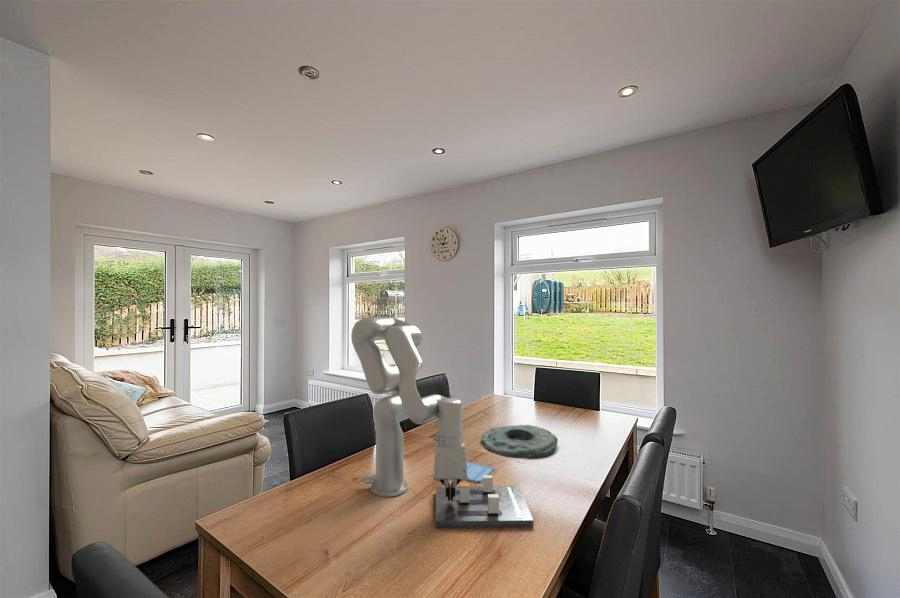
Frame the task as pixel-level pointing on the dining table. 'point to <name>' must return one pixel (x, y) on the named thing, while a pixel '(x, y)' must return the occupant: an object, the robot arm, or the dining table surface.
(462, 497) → the block
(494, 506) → the block
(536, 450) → the stone ring
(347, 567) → the dining table surface
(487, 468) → the light blue flat plate
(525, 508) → the panel
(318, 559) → the dining table surface
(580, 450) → the dining table surface
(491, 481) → the block
